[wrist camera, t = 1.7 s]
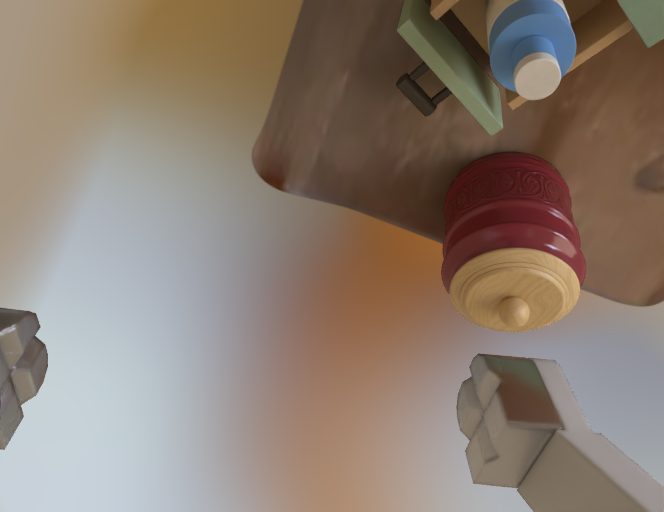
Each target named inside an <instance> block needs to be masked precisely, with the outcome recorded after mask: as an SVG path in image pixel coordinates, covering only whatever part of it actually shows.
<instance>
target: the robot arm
mask: <svg viewBox="0 0 664 512" xmlns="http://www.w3.org/2000/svg"><path fill="white" fill-rule="evenodd" d="M39 328H40V325H39V321H38V318H37V315H36V313H32V312H30V311H23V310H14V309H6V308H0V449H5V447H6V446H7V444H8V443H9V441H10V439H11V437H12V436H13V434H14V432H15V431H16V429H17V427H18V426H19V424H20V422H21V420H22V419H23V412H22V408H21V405H22V404H23V403H25V402H26V401H28V400H29V399H31V398H33V397H34V396H36V394H37V393H38V391H39V389H40V387H41V385H42V383H43V381H44V378H45V374H46V370H47V367H48V354H47V350H46V346H45V344H44V343H43V342H42V341H40V340H39V339H38V338H37V337H36V336H35V335H36V333H37V331H38V330H39ZM469 368H470V371H471V375H472V377H470V378H469V379H467V380H465V381H464V382H463V383H462V385H461V388H460V390H459V393H458V400H457V417H458V423H459V427H460V430H461V431H462V433H463V434H464V435H465V436H466V437H467V438H468V439H469V440H470V442H469V444H468V446H467V448H466V451H465V452H466V456H467V460H468V464H469V468H470V472H471V476H472V480H473V484H482V485H492V486H502V487H512V488H518V489H517V491H518V492H519V494H520V495H521V496H522V497H523V499H524V500H525V501H526V503H527V504H528V505H529V506H530V508H531V509H532V510H533V511H534V512H664V486H662V485H661V484H660V483H659V482H658V481H657V480H655V479H654V478H653V477H652V476H651V475H649V474H648V473H647V472H646V471H645V470H644V469H642V468H641V467H640V466H639V465H638V464H637V463H635V462H634V461H633V460H632V459H630V458H629V457H628V456H627V455H626V454H625V453H624V452H622V451H621V450H620V449H619V448H618V447H616V446H615V445H614V444H613V443H612V442H611V441H609V440H608V439H607V438H606V437H605V436H603V435H602V434H601V433H593V431H592V429H591V427H590V425H589V423H588V421H587V419H586V417H585V415H584V413H583V411H582V409H581V407H580V405H579V403H578V401H577V399H576V397H575V395H574V393H573V391H572V388H571V387H570V384H569V382H568V380H567V378H566V376H565V374H564V372H563V370H562V368H561V366H560V365H559V364H558V363H557V362H556V361H555V360H546V359H535V358H524V357H512V356H500V355H488V354H477V355H476V356H475V357H474V358H473V360H472V362H471V365H470V367H469Z"/></svg>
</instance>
